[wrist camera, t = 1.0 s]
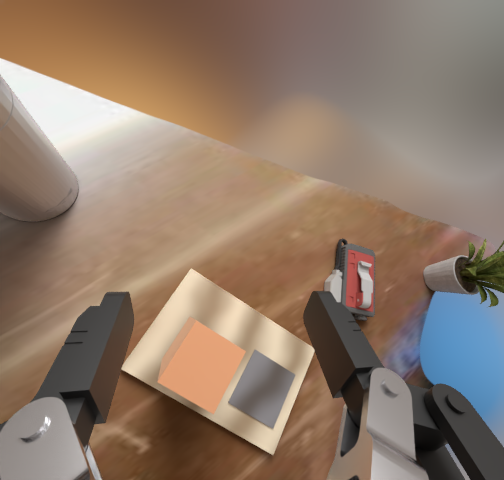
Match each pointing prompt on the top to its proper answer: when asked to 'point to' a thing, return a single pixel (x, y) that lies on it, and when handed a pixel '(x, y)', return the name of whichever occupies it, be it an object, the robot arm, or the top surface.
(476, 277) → the house plant
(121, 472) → the top surface
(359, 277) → the walkie-talkie
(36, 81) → the top surface
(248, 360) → the post stand
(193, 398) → the tall salmon pillar
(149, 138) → the top surface
